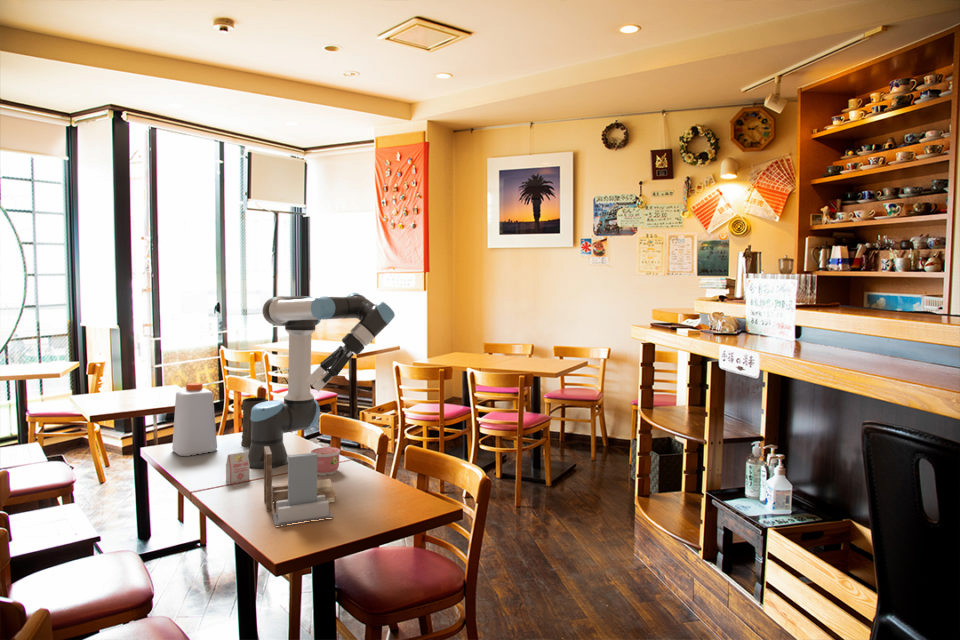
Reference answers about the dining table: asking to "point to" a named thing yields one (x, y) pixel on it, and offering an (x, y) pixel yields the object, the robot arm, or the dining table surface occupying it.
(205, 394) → the plastic bottle
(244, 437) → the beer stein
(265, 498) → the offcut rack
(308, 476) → the slate board
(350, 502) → the dining table surface
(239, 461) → the tea bag
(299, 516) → the slot stand
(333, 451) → the container
